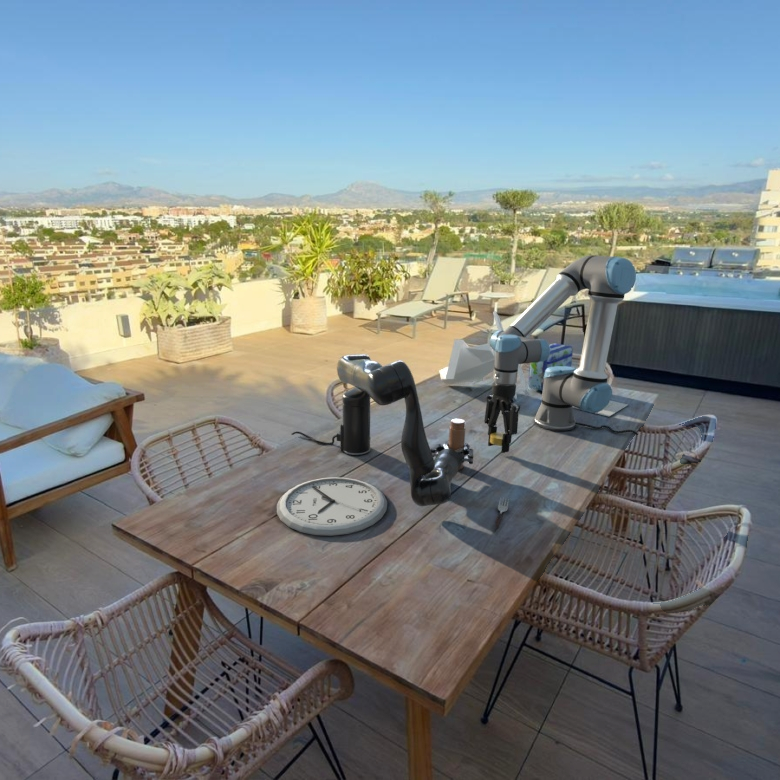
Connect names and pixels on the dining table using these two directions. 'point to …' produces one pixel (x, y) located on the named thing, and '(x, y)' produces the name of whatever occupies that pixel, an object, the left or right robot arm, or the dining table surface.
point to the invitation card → (611, 408)
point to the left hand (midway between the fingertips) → (458, 444)
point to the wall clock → (331, 506)
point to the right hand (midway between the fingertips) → (498, 448)
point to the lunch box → (549, 364)
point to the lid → (496, 438)
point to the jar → (457, 435)
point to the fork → (501, 509)
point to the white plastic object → (474, 363)
